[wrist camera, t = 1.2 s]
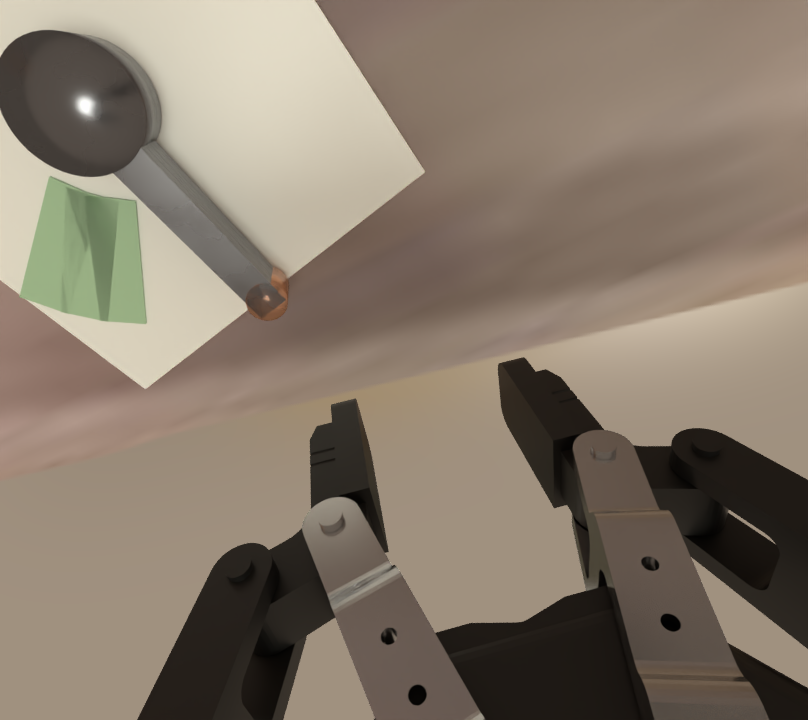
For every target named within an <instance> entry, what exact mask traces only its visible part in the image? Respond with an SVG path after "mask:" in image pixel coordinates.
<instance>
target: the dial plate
mask: <svg viewBox="0 0 808 720" xmlns="http://www.w3.org/2000/svg"><path fill="white" fill-rule="evenodd" d="M39 30H57V31H64V32H71V33H77V34H84V35H91V36H94V37H98V38H101V39H104V40H106V41H109V42H111V43H113V44H114V45H116V46H118V47H119V48H121V49H122V50H124V51H125V52H126V53H128V54H129V55H130V56H131V57H132V58H133V59H134V60H135V61H136V62H137V63H138V64H139V65H140V66H141V67H142V68H143V70H144V71H145V72H146V74H147V75H148V77H149V78H150V80H151V82H152V84H153V86H154V88H155V90H156V93H157V96H158V99H159V103H160V108H161V127H160V132H159V135H158V138H157V140H156V142H157V143H158V144H159V145H160V146H161V147H162V148H163V149H164V150H165V152H166V153H167V154H168V155H169V156H170V157H171V158H172V159H173V160H174V161H175V162H176V163H177V164H178V165H179V167H180V168H181V169H182V170H183V171H184V172H185V173H186V174H187V175H188V176H189V177H190V178H191V179H192V180H193V182H194V183H195V184H196V185H197V186H198V187H199V188H200V189H201V190H202V191H203V192H204V193H205V194H206V195H207V196H208V198H209V199H210V200H211V201H212V202H213V203H214V204H215V205H216V206H217V207H218V208H219V209H220V210H221V211H222V213H223V214H224V215H225V216H226V217H227V218H228V219H229V220H230V221H231V222H232V223H233V224H234V225H235V226H236V228H237V229H238V230H239V231H240V232H241V233H242V234H243V235H244V236H245V237H246V238H247V239H248V240H249V241H250V243H251V244H252V245H253V246H254V247H255V248H256V249H257V250H258V251H259V252H260V253H261V254H262V255H263V256H264V258H265V259H266V260H267V261H268V262H269V263H270V264H271V265H272V266H273V267H276V268H278V269H280V270H281V271H282V272H283V273H284V274H285V275H286V277H287V279H288V278H289V277H291V276H292V275H293V274H294V273H296V272H297V271H298V270H300V269H301V268H302V267H303V266H305V265H306V264H307V263H309V262H310V261H311V260H312V259H314V258H315V257H316V256H318V255H319V254H320V253H321V252H323V251H324V250H325V249H327V248H328V247H329V246H331V245H332V244H333V243H334V242H336V241H337V240H338V239H340V238H341V237H342V236H343V235H345V234H346V233H347V232H349V231H350V230H351V229H352V228H354V227H355V226H356V225H358V224H359V223H360V222H361V221H363V220H364V219H365V218H367V217H368V216H369V215H370V214H372V213H373V212H374V211H376V210H377V209H378V208H379V207H381V206H382V205H383V204H385V203H386V202H387V201H388V200H390V199H391V198H392V197H394V196H395V195H396V194H398V193H399V192H400V191H401V190H403V189H404V188H405V187H407V186H408V185H409V184H410V183H412V182H413V181H414V180H416V179H417V178H418V177H419V176H421V175H422V174H423V173H425V171H424V169H423V168H422V166H421V165H420V163H419V162H418V160H417V158H416V157H415V155H414V154H413V152H412V151H411V149H410V148H409V146H408V144H407V143H406V141H405V140H404V138H403V137H402V135H401V134H400V132H399V130H398V129H397V127H396V126H395V124H394V123H393V121H392V120H391V118H390V116H389V115H388V113H387V112H386V110H385V109H384V107H383V106H382V104H381V103H380V101H379V99H378V98H377V96H376V95H375V93H374V92H373V90H372V89H371V87H370V85H369V84H368V82H367V81H366V79H365V78H364V76H363V75H362V73H361V71H360V70H359V68H358V67H357V65H356V64H355V62H354V61H353V59H352V57H351V56H350V54H349V53H348V51H347V50H346V48H345V47H344V45H343V43H342V42H341V40H340V39H339V37H338V36H337V34H336V33H335V31H334V29H333V28H332V26H331V25H330V23H329V22H328V20H327V19H326V17H325V16H324V14H323V12H322V11H321V9H320V8H319V6H318V5H317V3H316V2H315V0H0V57H1V55H2V53H3V51H4V50H5V49H6V48H7V46H8V45H9V44H10V43H12V42H13V41H14V40H15V39H17V38H18V37H20V36H22V35H24V34H27V33H30V32H33V31H39ZM0 280H1V281H2V282H4V283H5V284H6V285H8V286H9V287H10V288H12V289H13V290H14V291H16V292H17V293H18V294H20V297H21V298H24V299H26V300H28V301H29V302H30V303H32V304H33V305H34V306H35V307H37V308H38V309H39V310H41V311H42V312H43V313H45V314H46V315H47V316H49V317H50V318H51V319H53V320H54V321H55V322H57V323H58V324H59V325H61V326H62V327H63V328H65V329H66V330H67V331H69V332H70V333H71V334H73V335H74V336H75V337H77V338H78V339H79V340H81V341H82V342H83V343H85V344H86V345H87V346H89V347H90V348H91V349H93V350H94V351H95V352H97V353H98V354H99V355H101V356H102V357H103V358H105V359H106V360H107V361H109V362H110V363H111V364H113V365H114V366H115V367H117V368H118V369H119V370H121V371H122V372H123V373H125V374H126V375H127V376H128V377H130V378H131V379H132V380H134V381H135V382H136V383H138V384H139V385H140V386H142V387H143V388H144V389H146V388H148V387H149V386H150V385H151V384H153V383H154V382H155V381H157V380H158V379H159V378H160V377H162V376H163V375H164V374H166V373H167V372H168V371H169V370H171V369H172V368H173V367H175V366H176V365H177V364H178V363H180V362H181V361H182V360H184V359H185V358H186V357H187V356H189V355H190V354H191V353H193V352H194V351H195V350H197V349H198V348H199V347H200V346H202V345H203V344H204V343H206V342H207V341H208V340H209V339H211V338H212V337H213V336H215V335H216V334H217V333H218V332H220V331H221V330H222V329H224V328H225V327H226V326H227V325H229V324H230V323H231V322H233V321H234V320H235V319H236V318H238V317H239V316H240V315H242V314H243V313H244V312H245V311H247V310H248V309H247V306H246V303H245V302H244V301H243V300H242V299H241V298H240V297H239V296H238V295H237V294H236V293H235V292H234V291H233V290H232V289H231V288H230V287H229V286H228V285H227V284H226V283H225V282H224V281H223V280H222V279H221V278H219V277H218V276H217V275H216V274H215V273H214V272H213V271H212V270H211V269H210V268H209V267H208V266H207V265H206V264H205V263H204V262H203V261H202V260H201V259H200V258H199V257H198V256H197V255H196V254H195V253H194V252H193V251H192V250H191V249H190V248H189V247H188V246H187V245H186V244H185V243H184V242H183V241H182V240H181V239H180V238H179V237H178V236H177V235H176V234H175V233H174V232H172V231H171V230H170V229H169V228H168V227H167V226H166V225H165V224H164V223H163V222H162V221H161V220H160V219H159V218H158V217H157V216H156V215H155V214H154V213H153V212H152V211H151V210H150V209H149V208H148V207H147V206H146V205H145V204H144V203H143V202H142V201H141V200H140V199H139V198H138V197H137V196H136V195H135V194H134V193H133V192H132V191H131V190H130V189H129V188H128V187H127V186H126V185H124V184H123V183H122V182H121V181H120V180H119V179H118V178H117V177H116V176H115V175H114V174H113V173H112V174H109V175H105V176H100V177H82V176H76V175H72V174H68V173H65V172H62V171H60V170H58V169H55V168H53V167H51V166H49V165H48V164H46V163H44V162H43V161H41V160H40V159H38V158H37V157H36V156H34V155H33V154H32V153H31V152H30V151H28V150H27V149H26V148H25V147H24V146H23V145H22V144H21V143H20V141H19V140H18V139H17V138H16V137H15V135H14V134H13V133H12V131H11V130H10V128H9V127H8V125H7V123H6V121H5V119H4V117H3V115H2V113H1V110H0Z"/></svg>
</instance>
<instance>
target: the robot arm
mask: <svg viewBox="0 0 808 720" xmlns="http://www.w3.org/2000/svg"><path fill="white" fill-rule="evenodd" d="M498 376H499V386H500V399H501V408H502V413H503V416H504V419H505V422H506V424H507V426H508V428H509V430H510V432H511V433H512V435H513V437H514V439H515V440H516V442H517V444H518V446H519V447H520V449H521V451H522V452H523V454H524V456H525V458H526V460H527V461H528V463H529V465H530V467H531V468H532V470H533V472H534V474H535V475H536V477H537V479H538V481H539V482H540V484H541V486H542V488H543V489H544V491H545V493H546V495H547V496H548V498H549V500H550V502H551V503H552V505H553V507H554V508H557V507H560V506H564V505H568V507H569V509H570V510H571V512H572V527H573V531H574V536H575V541H576V546H577V550H578V555H579V560H580V564H581V569H582V573H583V578H584V583H585V588H586V591H584V592H581V593H577V594H573V595H570V596H566V597H564V598H562V599H560V600H559V601H557V602H556V603H554V604H552V605H551V606H549V607H547V608H546V609H544V610H543V611H541V612H539V613H538V614H536V615H534V616H533V617H531V618H530V619H528V620H526V621H524V622H518V623H469V624H466V625H462V626H459V627H455V628H451V629H448V630H444V631H441V632H437V633H435V632H434V630H433V628H432V627H431V625H430V623H429V621H428V620H427V618H426V616H425V614H424V613H423V611H422V609H421V607H420V606H419V604H418V602H417V601H416V599H415V597H414V595H413V594H412V592H411V590H410V588H409V586H408V585H407V583H406V581H405V579H404V578H403V576H402V574H401V572H400V571H399V569H398V568H397V567H396V566H395V565H393V566H392V565H391V563H390V561H389V560H388V558H387V556H386V554H385V553H386V552H388V545H387V540H386V534H385V528H384V523H383V517H382V511H381V506H380V500H379V494H378V489H377V483H376V477H375V472H374V466H373V461H372V456H371V451H370V447H369V443H368V439H367V435H366V432H365V428H364V425H363V421H362V418H361V414H360V410H359V407H358V404H357V400H356V399H352V400H348V401H344V402H340V403H336V404H332V405H331V413H332V423H328V424H324V425H320V426H317V427H316V429H315V431H314V433H313V435H312V437H311V439H310V455H311V456H310V465H311V467H310V468H311V470H310V471H311V472H310V473H311V510H310V511H309V512H308V514H307V515H306V517H305V519H304V521H303V525H302V529H301V530H300V531H299V532H298V533H297V534H295V535H294V536H293V537H292V538H290V539H288V540H286V541H285V542H283V543H282V544H279V545H278V546H276V547H274V548H272V549H270V550H268V549H267V548H266V547H265V546H263V545H261V544H257V543H247V544H243V545H240V546H237V547H235V548H233V549H231V550H230V551H228V552H227V553H226V554H224V555H223V556H222V557H221V558H220V559H219V560H218V561H217V563H216V564H215V565H214V567H213V569H212V570H211V572H210V574H209V577H208V578H207V581H206V582H205V585H204V587H203V589H202V591H201V592H200V594H199V596H198V598H197V601H196V603H195V605H194V607H193V609H192V611H191V613H190V615H189V617H188V619H187V621H186V623H185V625H184V627H183V629H182V631H181V633H180V635H179V637H178V639H177V641H176V643H175V645H174V647H173V649H172V651H171V653H170V655H169V657H168V659H167V661H166V663H165V665H164V667H163V669H162V671H161V673H160V675H159V677H158V679H157V681H156V683H155V685H154V687H153V689H152V691H151V693H150V695H149V697H148V699H147V701H146V703H145V705H144V707H143V709H142V711H141V713H140V715H139V717H138V719H137V720H283V718H284V714H285V711H286V708H287V704H288V701H289V697H290V694H291V690H292V687H293V683H294V679H295V676H296V672H297V669H298V665H299V662H300V659H301V655H302V651H303V648H304V644H305V641H306V636H307V635H308V634H310V633H311V632H313V631H315V630H316V629H317V628H319V627H321V626H322V625H324V624H325V623H327V622H328V621H330V620H331V619H333V618H336V620H337V623H338V625H339V628H340V630H341V633H342V635H343V638H344V640H345V643H346V645H347V648H348V650H349V653H350V656H351V658H352V660H353V663H354V666H355V668H356V670H357V673H358V675H359V678H360V681H361V683H362V686H363V688H364V691H365V693H366V696H367V699H368V701H369V704H370V706H371V709H372V711H373V714H374V716H375V719H374V720H808V688H807V687H805V686H803V685H801V684H800V683H798V682H796V681H794V680H792V679H791V678H789V677H787V676H785V675H784V674H782V673H780V672H778V671H776V670H775V669H773V668H771V667H769V666H768V665H766V664H764V663H762V662H761V661H759V660H757V659H755V658H753V657H752V656H750V655H748V654H746V653H745V652H743V651H741V650H739V649H738V648H736V647H734V646H732V645H730V644H729V643H727V641H726V638H725V636H724V634H723V631H722V629H721V627H720V624H719V622H718V620H717V617H716V615H715V613H714V610H713V608H712V606H711V603H710V601H709V599H708V596H707V594H706V592H705V589H704V587H703V584H702V582H701V580H700V577H699V575H698V573H697V570H696V568H695V566H694V563H693V561H692V559H691V557H692V558H693V559H695V560H696V561H697V562H698V563H700V564H701V565H702V566H703V567H705V568H706V569H707V570H708V571H710V572H711V573H712V574H714V575H715V576H716V577H717V578H719V579H720V580H721V581H723V582H724V583H725V584H726V585H728V586H729V587H730V588H731V589H733V590H734V591H735V592H736V593H738V594H739V595H740V596H742V597H743V598H744V599H745V600H747V601H748V602H749V603H750V604H752V605H753V606H754V607H756V608H757V609H758V610H759V611H761V612H762V613H763V614H764V615H766V616H767V617H768V618H769V619H771V620H772V621H773V622H774V623H776V624H777V625H778V626H779V627H781V628H782V629H783V630H785V631H786V632H787V633H788V634H790V635H791V636H792V637H794V638H795V639H796V640H797V641H799V642H800V643H801V644H802V645H804V646H805V647H806V648H807V649H808V480H807V479H805V478H803V477H801V476H800V475H798V474H796V473H794V472H792V471H790V470H789V469H787V468H785V467H783V466H781V465H780V464H778V463H776V462H774V461H772V460H770V459H768V458H767V457H764V456H763V455H761V454H759V453H757V452H755V451H754V450H752V449H750V448H748V447H746V446H745V445H743V444H741V443H739V442H737V441H735V440H734V439H732V438H730V437H728V436H726V435H724V434H722V433H719V432H717V431H713V430H709V429H702V428H692V429H687V430H683V431H681V432H679V433H678V434H676V435H675V436H674V438H673V440H672V445H671V446H656V447H655V446H648V447H646V446H634V445H632V443H631V442H630V441H629V440H628V439H627V438H625V437H624V436H622V435H620V434H618V433H615V432H612V431H607V430H604V429H603V428H602V427H601V425H600V424H599V423H598V422H597V420H596V419H595V418H594V417H593V416H592V414H591V413H590V412H589V411H588V410H587V408H586V407H585V406H584V405H583V404H582V402H581V401H580V400H579V399H577V396H576V395H575V394H574V393H573V392H572V391H571V390H570V388H569V387H568V386H567V384H566V383H565V382H564V381H563V380H562V378H561V377H559V376H557V375H555V374H553V373H552V372H550V371H548V370H542V371H537V372H535V370H534V369H533V368H532V367H531V365H530V364H529V363H528V361H527V360H526V359H525V358H519V359H515V360H511V361H507V362H503V363H499V365H498ZM728 510H731V511H732V512H734V513H735V514H737V515H738V516H740V517H741V518H743V519H744V520H746V521H747V522H749V523H750V524H752V525H754V526H755V527H756V528H758V529H759V530H761V531H763V532H764V533H765V534H767V535H768V536H769V537H770V538H771V539H772V540H773V541H774V542H775V544H774V543H773V542H771V541H770V540H768V539H767V538H765V537H764V536H762V535H761V534H759V533H758V532H756V531H755V530H753V529H752V528H750V527H749V526H747V525H746V524H744V523H742V522H741V521H740V520H738V519H737V518H735V517H734V516H732V515H731V514H729V513H728Z"/></svg>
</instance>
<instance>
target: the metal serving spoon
mask: <svg viewBox="0 0 808 720" xmlns="http://www.w3.org/2000/svg"><path fill="white" fill-rule="evenodd" d="M0 110H1V113H2V115H3V117H4V119H5V121H6V123H7V125H8V127H9V128H10V130H11V131H12V133H13V134H14V135H15V137H16V138H17V139H18V140H19V141H20V143H21V144H22V145H23V146H24V147H25V148H26V149H27V150H28V151H30V152H31V153H32V154H33V155H34V156H36V157H37V158H38V159H40V160H41V161H43V162H44V163H46V164H48V165H49V166H51V167H53V168H55V169H58V170H60V171H62V172H65V173H68V174H72V175H76V176H82V177H100V176H105V175H109V174H112V173H113V174H114V175H115V176H116V177H117V178H118V179H119V180H120V181H121V182H122V183H123V184H124V185H126V186H127V187H128V188H129V189H130V190H131V191H132V192H133V193H134V194H135V195H136V196H137V197H138V198H139V199H140V200H141V201H142V202H143V203H144V204H145V205H146V206H147V207H148V208H149V209H150V210H151V211H152V212H153V213H154V214H155V215H156V216H157V217H158V218H159V219H160V220H161V221H162V222H163V223H164V224H165V225H166V226H167V227H168V228H169V229H170V230H171V231H172V232H174V233H175V234H176V235H177V236H178V237H179V238H180V239H181V240H182V241H183V242H184V243H185V244H186V245H187V246H188V247H189V248H190V249H191V250H192V251H193V252H194V253H195V254H196V255H197V256H198V257H199V258H200V259H201V260H202V261H203V262H204V263H205V264H206V265H207V266H208V267H209V268H210V269H211V270H212V271H213V272H214V273H215V274H216V275H217V276H218V277H219V278H221V279H222V280H223V281H224V282H225V283H226V284H227V285H228V286H229V287H230V288H231V289H232V290H233V291H234V292H235V293H236V294H237V295H238V296H239V297H240V298H241V299H242V300H243V301H244V302H245V303H246V306H247V309H248V311H249V312H250V313H251V314H252V315H253V316H254V317H256V318H258V319H261V320H265V321H270V320H275V319H277V318H279V317H281V316H282V315H283V314H284V313H285V311H286V309H287V305H288V290H289V282H288V279H287V277H286V275H285V274H284V273H283V272H282V271H281V270H280V269H278V268H276V267H273V266H272V265H271V264H270V263H269V262H268V261H267V260H266V259H265V258H264V256H263V255H262V254H261V253H260V252H259V251H258V250H257V249H256V248H255V247H254V246H253V245H252V244H251V243H250V241H249V240H248V239H247V238H246V237H245V236H244V235H243V234H242V233H241V232H240V231H239V230H238V229H237V228H236V226H235V225H234V224H233V223H232V222H231V221H230V220H229V219H228V218H227V217H226V216H225V215H224V214H223V213H222V211H221V210H220V209H219V208H218V207H217V206H216V205H215V204H214V203H213V202H212V201H211V200H210V199H209V198H208V196H207V195H206V194H205V193H204V192H203V191H202V190H201V189H200V188H199V187H198V186H197V185H196V184H195V183H194V182H193V180H192V179H191V178H190V177H189V176H188V175H187V174H186V173H185V172H184V171H183V170H182V169H181V168H180V167H179V165H178V164H177V163H176V162H175V161H174V160H173V159H172V158H171V157H170V156H169V155H168V154H167V153H166V152H165V150H164V149H163V148H162V147H161V146H160V145H159V144H158V143H157V142H156V140H157V138H158V135H159V132H160V127H161V108H160V103H159V99H158V96H157V93H156V90H155V88H154V86H153V84H152V82H151V80H150V78H149V77H148V75H147V74H146V72H145V71H144V70H143V68H142V67H141V66H140V65H139V64H138V63H137V62H136V61H135V60H134V59H133V58H132V57H131V56H130V55H129V54H128V53H126V52H125V51H124V50H122V49H121V48H119V47H118V46H116V45H114V44H113V43H111V42H109V41H106V40H104V39H101V38H98V37H94V36H91V35H84V34H77V33H71V32H64V31H57V30H39V31H33V32H30V33H27V34H24V35H22V36H20V37H18V38H17V39H15V40H14V41H13V42H12V43H10V44H9V45H8V46H7V48H6V49H5V50H4V51H3V53H2V55H1V57H0Z"/></svg>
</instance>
